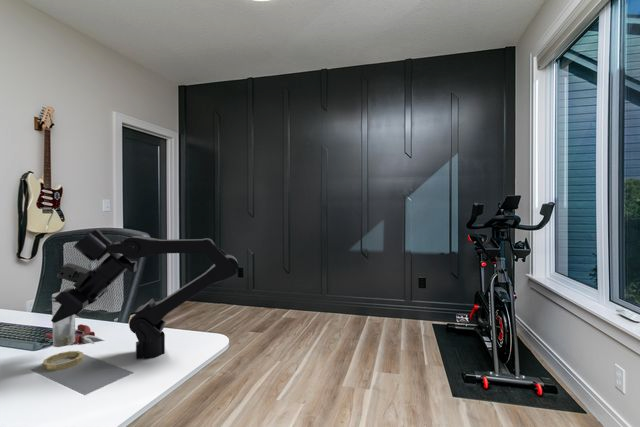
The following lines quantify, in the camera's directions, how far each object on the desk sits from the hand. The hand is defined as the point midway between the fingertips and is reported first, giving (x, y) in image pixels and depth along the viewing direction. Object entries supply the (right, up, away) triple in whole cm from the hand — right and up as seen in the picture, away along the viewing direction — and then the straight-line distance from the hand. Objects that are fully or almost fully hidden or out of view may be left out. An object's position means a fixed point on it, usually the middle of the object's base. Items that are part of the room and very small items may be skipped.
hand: (57, 318), depth 84 cm
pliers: (-9, -13, +17) cm, 24 cm away
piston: (+1, -7, 0) cm, 7 cm away
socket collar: (+1, -13, 0) cm, 13 cm away
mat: (+9, -13, -3) cm, 16 cm away
